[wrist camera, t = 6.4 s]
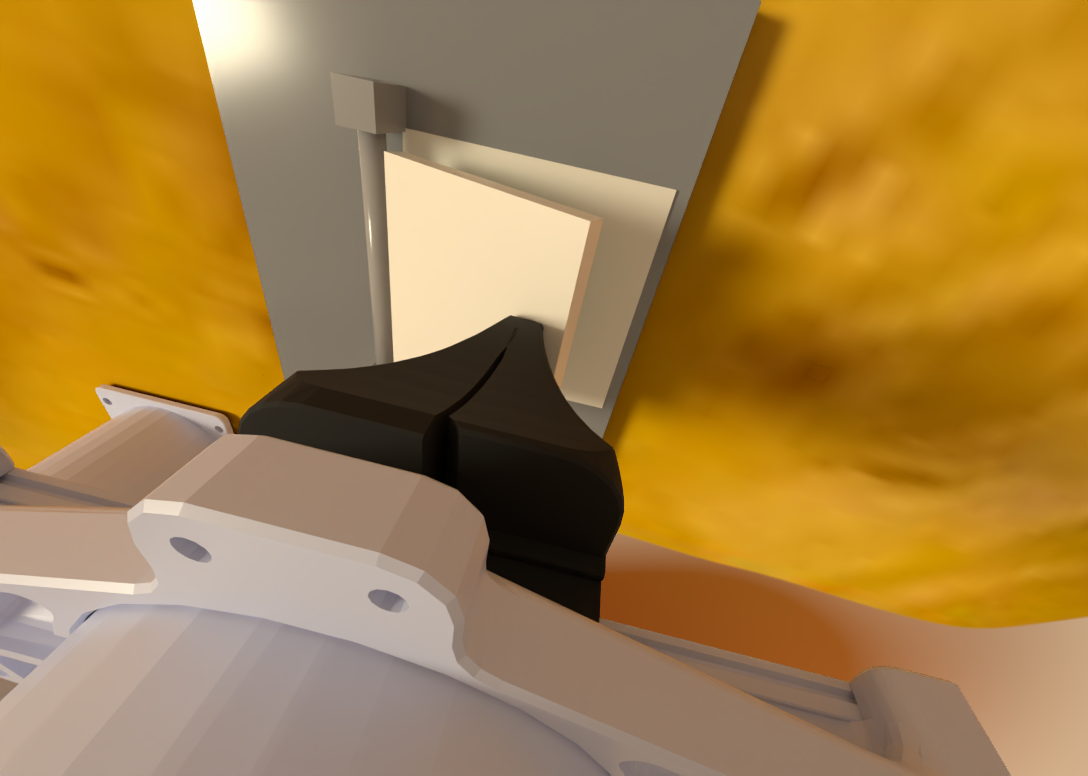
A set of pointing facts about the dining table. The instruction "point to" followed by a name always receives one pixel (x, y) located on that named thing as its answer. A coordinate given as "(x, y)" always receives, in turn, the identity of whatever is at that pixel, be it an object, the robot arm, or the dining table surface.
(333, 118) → the grey flat piece
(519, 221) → the tile
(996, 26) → the dining table surface
